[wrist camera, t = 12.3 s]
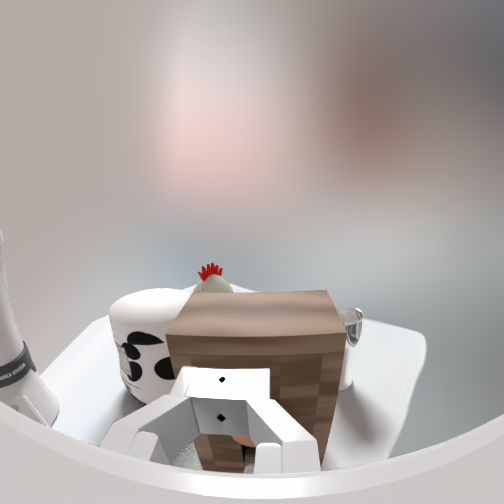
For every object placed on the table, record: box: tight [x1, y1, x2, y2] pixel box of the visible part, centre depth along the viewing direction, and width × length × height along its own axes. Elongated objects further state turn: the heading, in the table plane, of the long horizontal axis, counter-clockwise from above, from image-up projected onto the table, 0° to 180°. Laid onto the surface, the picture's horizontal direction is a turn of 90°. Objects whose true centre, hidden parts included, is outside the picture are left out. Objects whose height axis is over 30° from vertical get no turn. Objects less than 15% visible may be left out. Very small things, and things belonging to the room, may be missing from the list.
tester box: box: [165, 290, 347, 473], centre depth 31 cm, size 10×16×24 cm, turn 87°
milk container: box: [109, 288, 190, 404], centre depth 47 cm, size 17×17×18 cm
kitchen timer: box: [193, 263, 234, 293], centre depth 81 cm, size 14×14×15 cm
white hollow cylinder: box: [335, 306, 364, 391], centre depth 46 cm, size 7×7×15 cm
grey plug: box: [243, 446, 256, 474], centre depth 25 cm, size 8×5×5 cm, turn 177°
